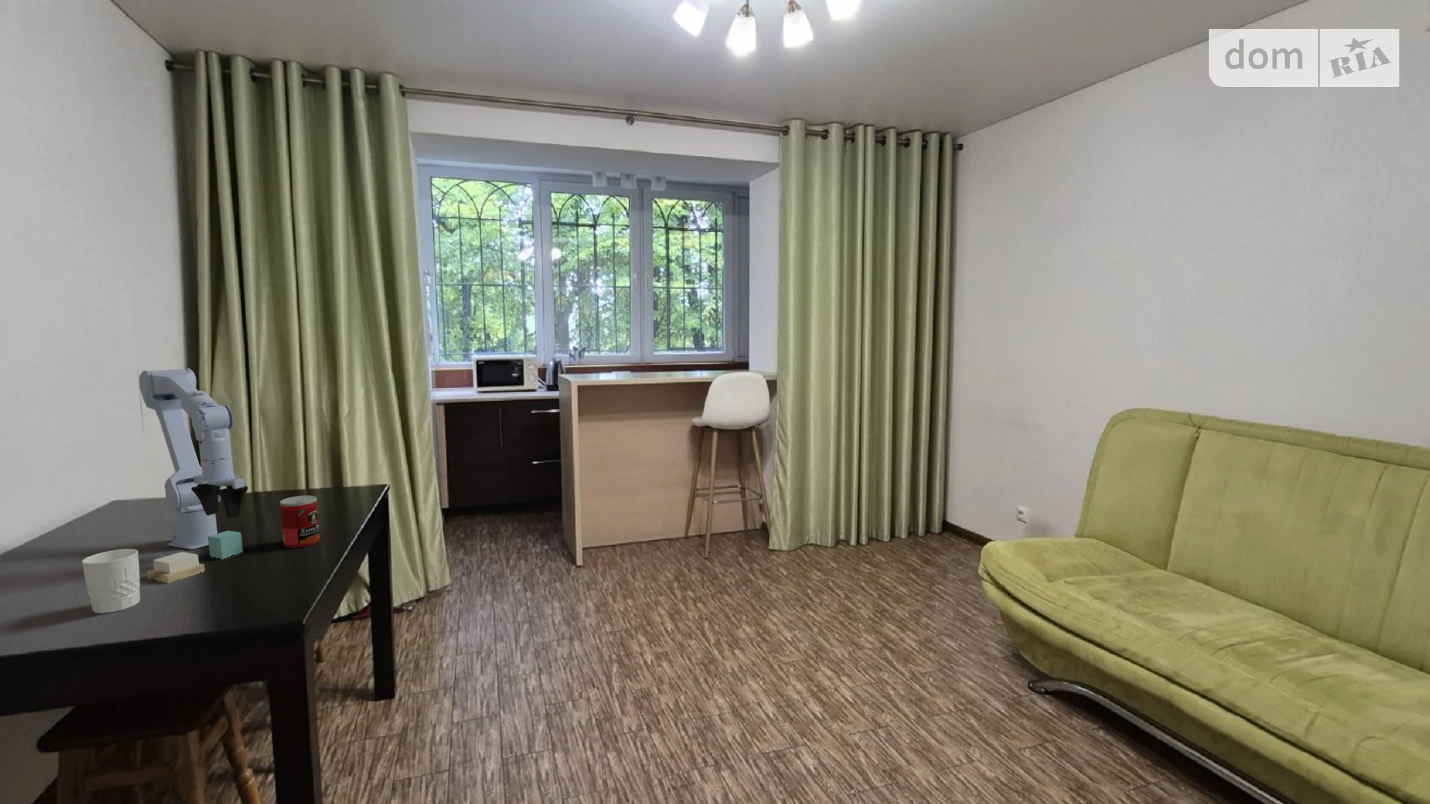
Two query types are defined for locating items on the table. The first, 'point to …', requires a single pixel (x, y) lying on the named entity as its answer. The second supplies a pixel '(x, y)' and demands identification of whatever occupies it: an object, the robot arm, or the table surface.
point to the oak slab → (175, 574)
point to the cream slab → (176, 562)
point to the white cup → (112, 580)
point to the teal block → (225, 544)
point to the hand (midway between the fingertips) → (222, 515)
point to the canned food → (299, 521)
